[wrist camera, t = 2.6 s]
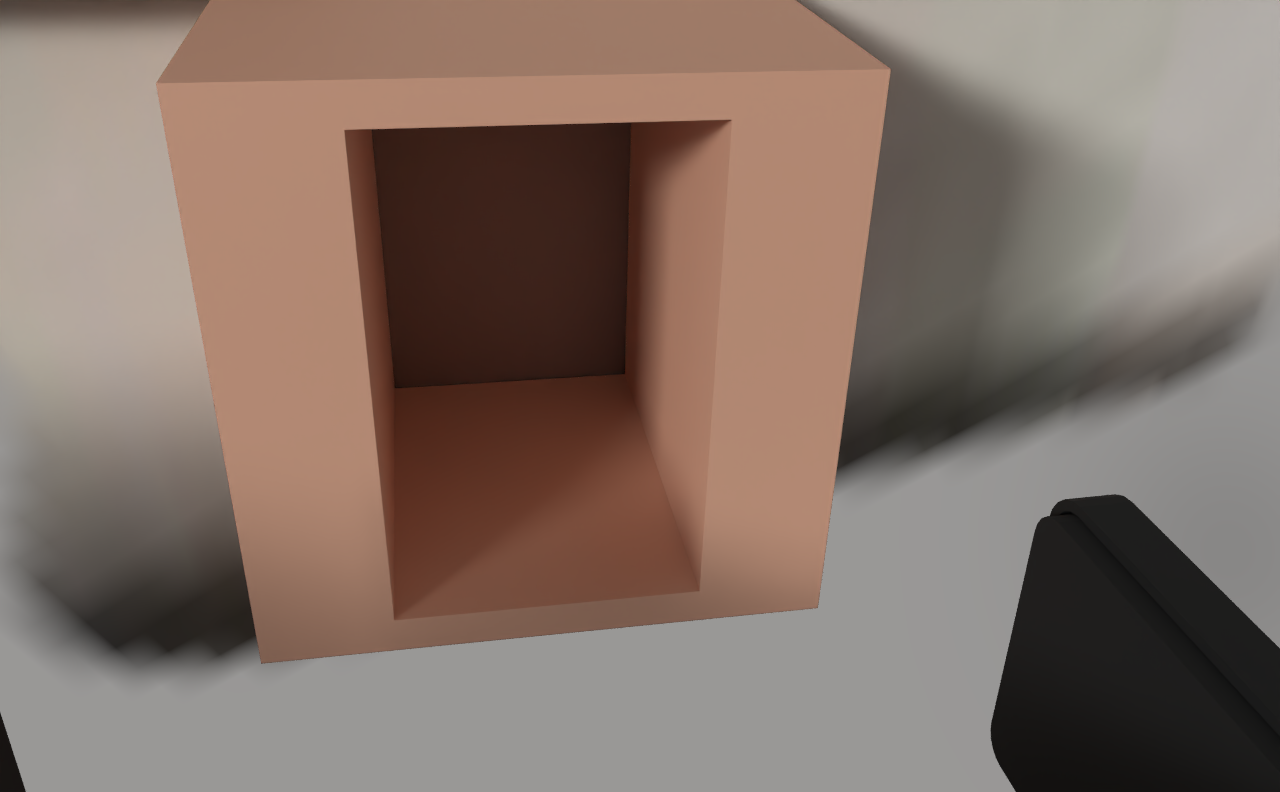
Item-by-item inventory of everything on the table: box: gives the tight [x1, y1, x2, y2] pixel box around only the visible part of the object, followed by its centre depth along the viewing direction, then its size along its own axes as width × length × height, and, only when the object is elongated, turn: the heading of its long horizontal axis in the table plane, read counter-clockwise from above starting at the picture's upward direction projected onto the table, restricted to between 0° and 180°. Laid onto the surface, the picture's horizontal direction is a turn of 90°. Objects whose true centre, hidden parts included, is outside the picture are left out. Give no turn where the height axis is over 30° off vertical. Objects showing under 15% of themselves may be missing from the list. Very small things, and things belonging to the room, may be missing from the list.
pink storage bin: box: [156, 0, 891, 664], centre depth 16 cm, size 7×7×6 cm
